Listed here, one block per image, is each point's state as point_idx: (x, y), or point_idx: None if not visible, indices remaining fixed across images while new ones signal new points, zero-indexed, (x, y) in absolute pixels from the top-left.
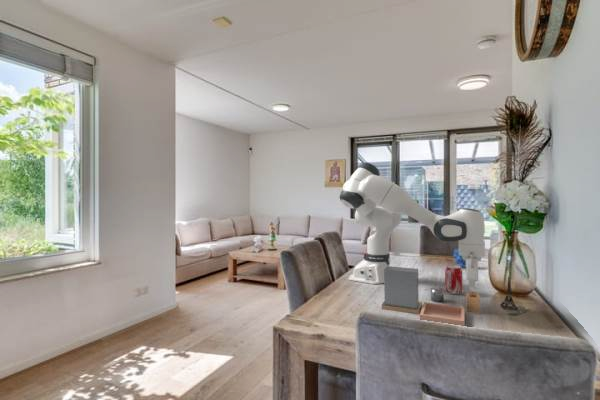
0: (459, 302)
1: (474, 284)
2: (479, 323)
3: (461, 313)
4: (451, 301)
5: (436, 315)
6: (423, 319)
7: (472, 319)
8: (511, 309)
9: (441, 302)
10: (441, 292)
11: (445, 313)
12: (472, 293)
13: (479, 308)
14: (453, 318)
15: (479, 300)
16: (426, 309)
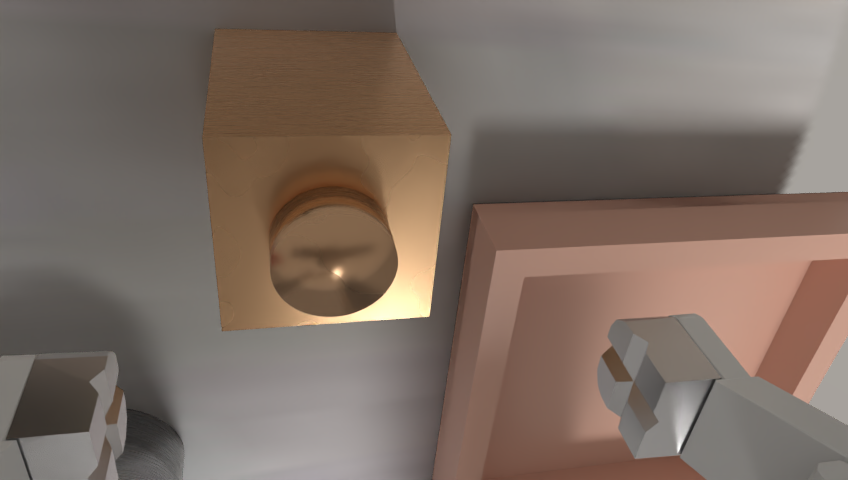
0: (16, 269)
1: (815, 422)
2: (725, 62)
3: (705, 263)
4: (39, 347)
5: None
6: None
7: (618, 126)
8: None
9: (158, 419)
10: None
11: (556, 354)
12: (385, 271)
13: (411, 68)
14: (676, 289)
15: (436, 120)
16: (494, 476)
